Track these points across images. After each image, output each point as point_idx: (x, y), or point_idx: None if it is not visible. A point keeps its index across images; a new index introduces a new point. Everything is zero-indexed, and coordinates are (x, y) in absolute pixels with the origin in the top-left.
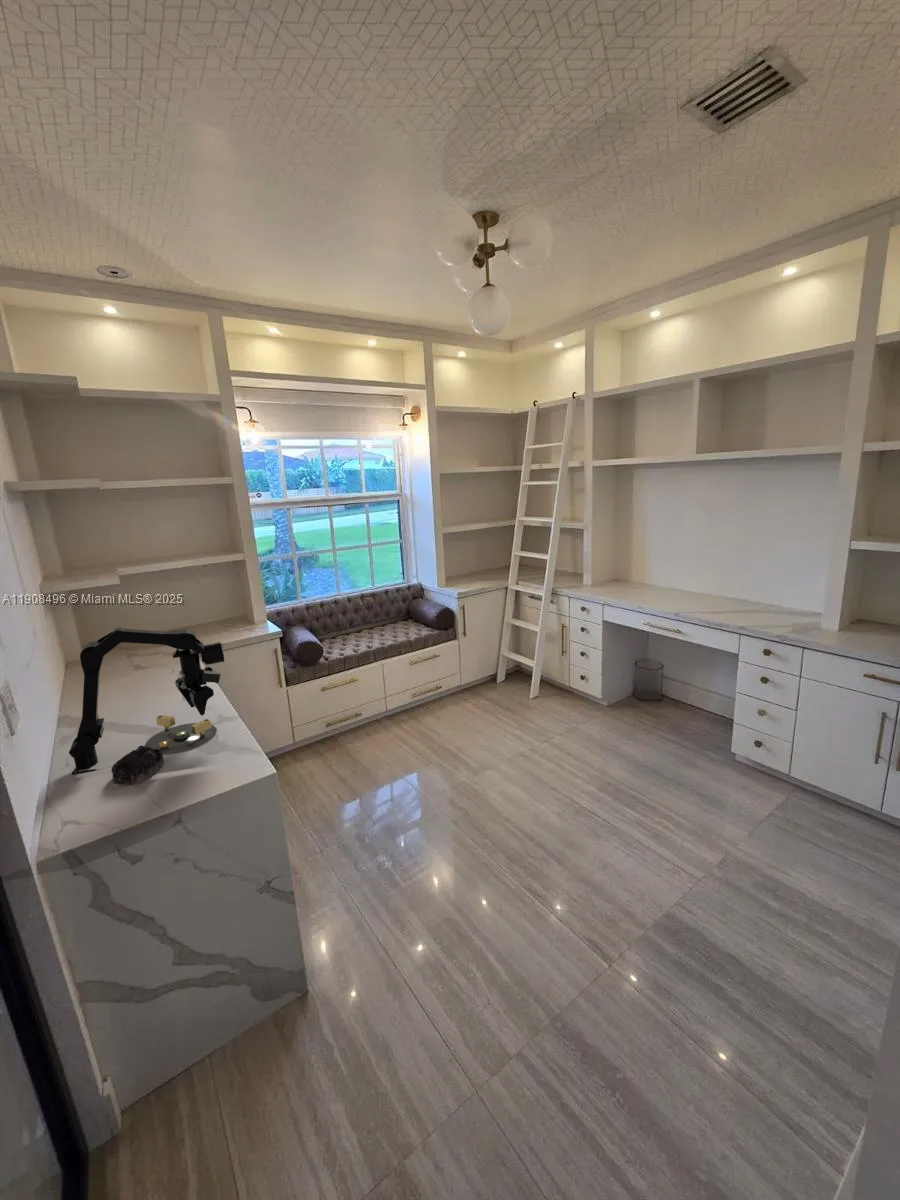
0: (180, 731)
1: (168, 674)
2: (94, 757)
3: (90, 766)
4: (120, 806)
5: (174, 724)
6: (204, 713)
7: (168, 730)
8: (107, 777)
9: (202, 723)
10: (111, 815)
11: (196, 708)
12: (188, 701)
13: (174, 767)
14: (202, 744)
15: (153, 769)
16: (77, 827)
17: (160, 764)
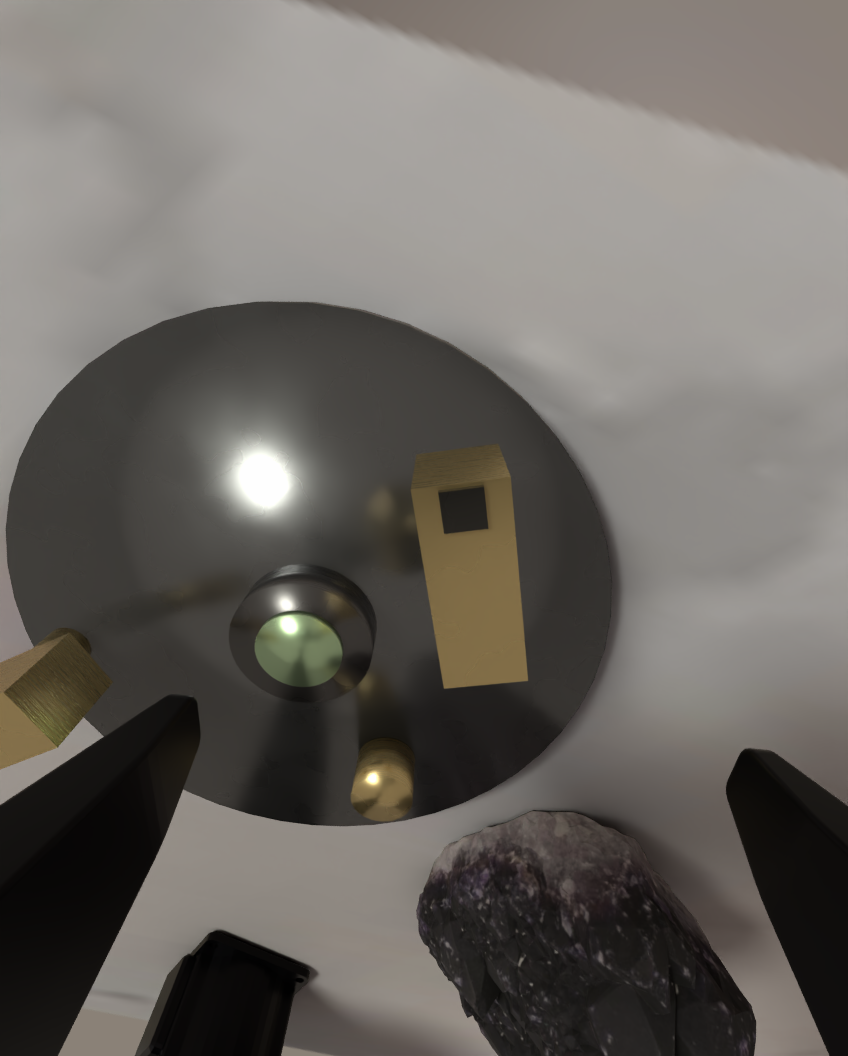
0: (236, 628)
1: None
2: (252, 1033)
3: (279, 1000)
4: (765, 998)
5: (79, 643)
6: (790, 768)
7: (87, 647)
8: (432, 959)
9: (515, 587)
10: (794, 1026)
11: (835, 1051)
12: (114, 917)
13: (673, 778)
14: (608, 576)
15: (684, 917)
16: None
17: (652, 873)
